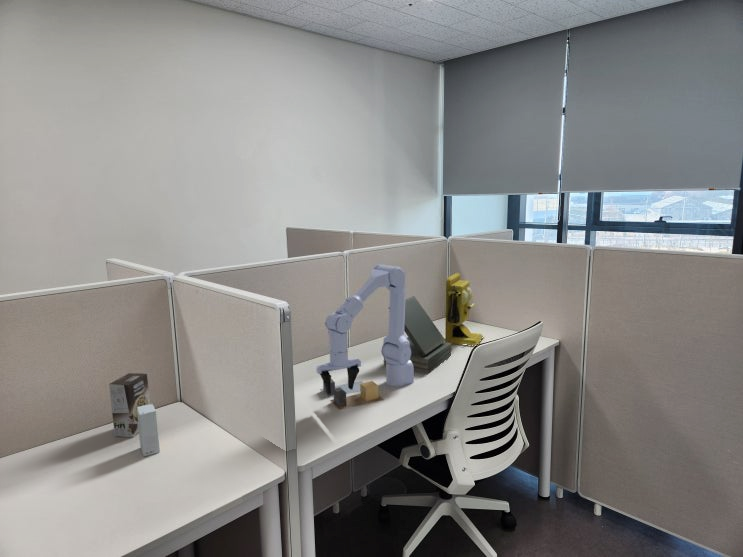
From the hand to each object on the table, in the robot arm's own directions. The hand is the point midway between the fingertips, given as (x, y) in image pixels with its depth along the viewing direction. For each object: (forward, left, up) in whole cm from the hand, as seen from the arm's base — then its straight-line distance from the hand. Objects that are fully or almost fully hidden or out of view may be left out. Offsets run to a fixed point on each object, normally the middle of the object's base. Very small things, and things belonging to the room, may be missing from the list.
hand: (339, 390), depth 158 cm
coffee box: (+60, -14, -6) cm, 62 cm away
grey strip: (-6, -10, -6) cm, 13 cm away
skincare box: (+56, +1, -6) cm, 57 cm away
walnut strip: (-6, 0, -6) cm, 8 cm away
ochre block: (-11, 0, -4) cm, 11 cm away
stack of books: (-44, -25, -6) cm, 51 cm away
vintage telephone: (-77, -37, -6) cm, 86 cm away
